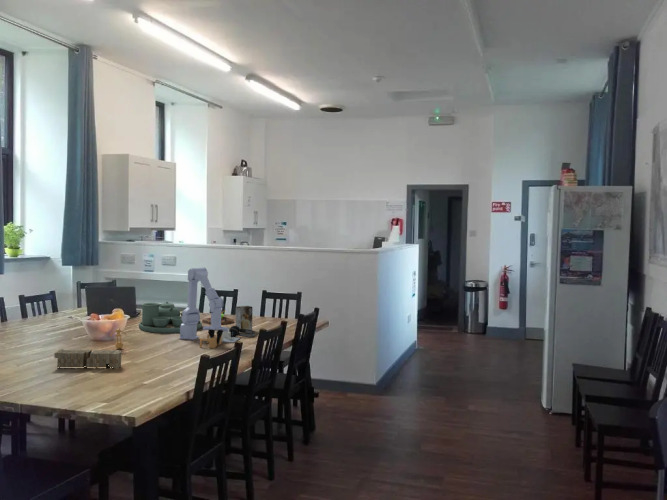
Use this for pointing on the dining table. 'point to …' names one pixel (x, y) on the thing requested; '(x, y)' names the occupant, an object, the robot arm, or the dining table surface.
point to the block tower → (88, 358)
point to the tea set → (161, 318)
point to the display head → (226, 337)
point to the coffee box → (244, 317)
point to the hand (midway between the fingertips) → (215, 343)
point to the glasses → (211, 341)
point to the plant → (228, 320)
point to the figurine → (118, 344)
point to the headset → (236, 330)
